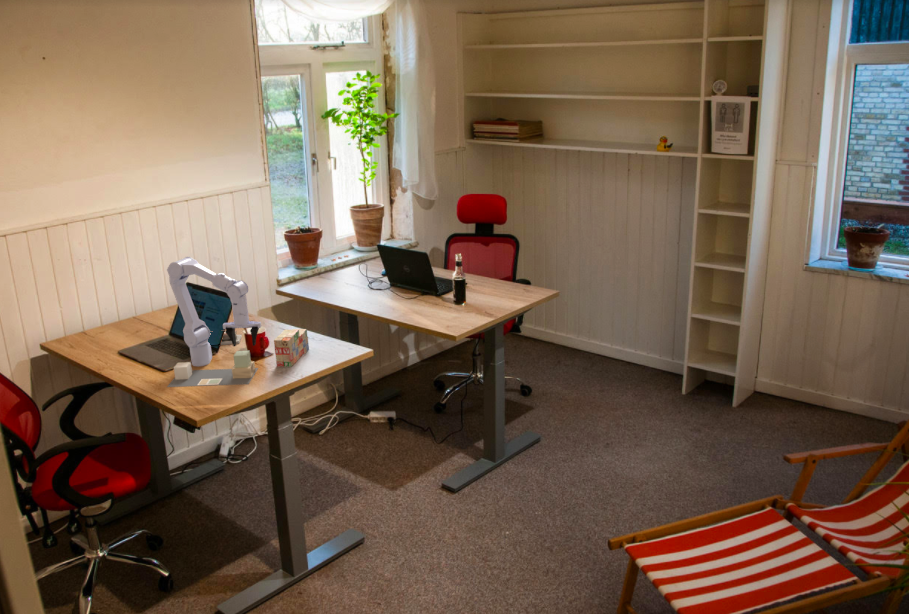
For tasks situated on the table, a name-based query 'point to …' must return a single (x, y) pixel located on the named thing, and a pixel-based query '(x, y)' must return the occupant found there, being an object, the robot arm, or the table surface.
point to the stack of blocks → (290, 346)
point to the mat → (211, 374)
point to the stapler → (227, 340)
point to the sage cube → (242, 359)
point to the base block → (244, 371)
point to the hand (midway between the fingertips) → (244, 345)
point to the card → (209, 382)
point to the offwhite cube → (183, 370)
